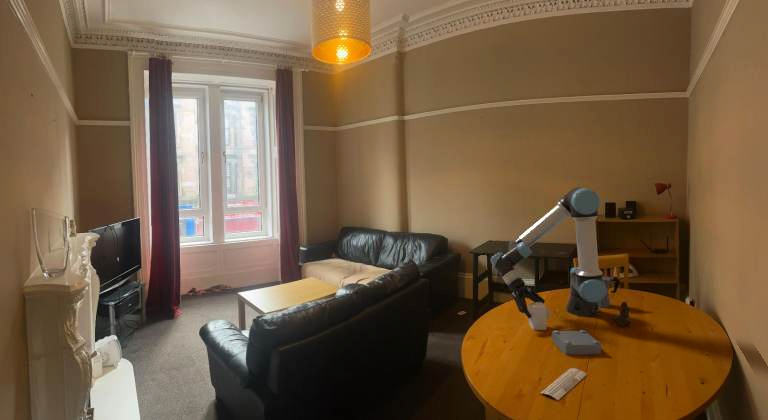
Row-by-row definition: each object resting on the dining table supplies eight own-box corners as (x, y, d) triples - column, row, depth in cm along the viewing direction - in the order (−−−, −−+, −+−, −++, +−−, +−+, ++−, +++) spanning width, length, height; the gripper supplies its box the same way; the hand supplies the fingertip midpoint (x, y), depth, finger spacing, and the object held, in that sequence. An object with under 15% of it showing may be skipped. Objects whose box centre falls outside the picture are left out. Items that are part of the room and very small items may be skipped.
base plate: (584, 339, 176) (584, 329, 175) (600, 354, 162) (601, 343, 161) (552, 340, 176) (552, 330, 176) (565, 354, 162) (565, 343, 162)
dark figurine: (629, 330, 185) (630, 303, 184) (605, 324, 192) (606, 299, 191) (638, 321, 195) (639, 296, 194) (616, 316, 202) (616, 292, 201)
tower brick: (541, 324, 194) (541, 300, 193) (546, 329, 188) (546, 304, 187) (529, 325, 194) (529, 301, 193) (533, 329, 188) (533, 305, 187)
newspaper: (569, 371, 150) (569, 366, 150) (589, 377, 145) (590, 373, 145) (539, 396, 135) (539, 391, 134) (561, 404, 129) (561, 399, 129)
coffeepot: (586, 306, 218) (587, 273, 216) (587, 300, 226) (587, 269, 225) (619, 309, 211) (620, 275, 209) (619, 304, 219) (619, 271, 218)
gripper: (522, 280, 209) (551, 317, 198) (494, 290, 194) (523, 330, 184) (532, 272, 204) (561, 310, 194) (504, 281, 190) (534, 322, 179)
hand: (543, 320), depth 189 cm, fingers open, 11 cm apart
